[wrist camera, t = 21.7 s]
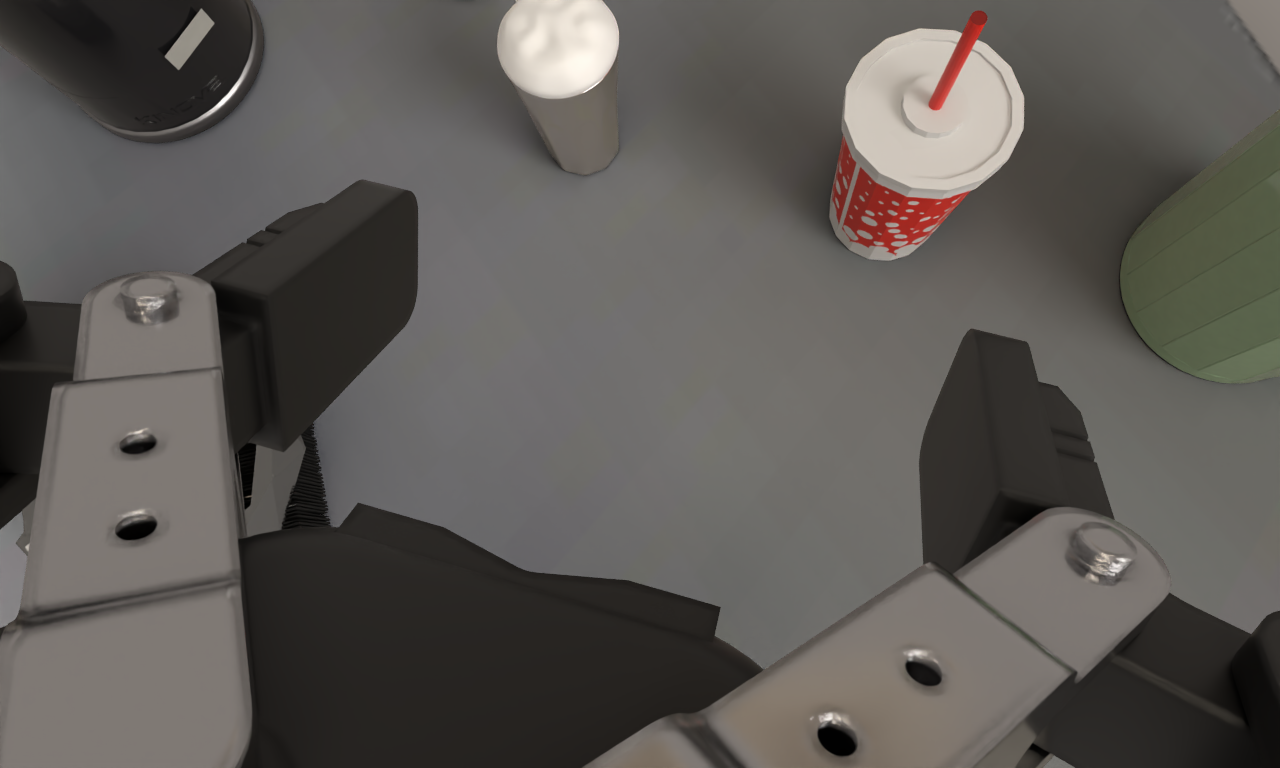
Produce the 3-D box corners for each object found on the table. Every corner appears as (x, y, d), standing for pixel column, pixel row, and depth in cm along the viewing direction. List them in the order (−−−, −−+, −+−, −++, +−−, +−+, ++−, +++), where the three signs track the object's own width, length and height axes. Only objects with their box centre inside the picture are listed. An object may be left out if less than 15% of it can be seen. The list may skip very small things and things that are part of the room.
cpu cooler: (252, 297, 34) (293, 557, 32) (315, 336, 40) (354, 559, 37) (-7, 364, 34) (17, 628, 32) (92, 394, 40) (118, 620, 37)
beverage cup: (979, 236, 39) (1132, 52, 25) (856, 302, 38) (943, 151, 25) (905, 124, 40) (1012, -109, 26) (785, 187, 40) (831, -16, 26)
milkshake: (583, 68, 42) (547, -87, 32) (654, 149, 40) (639, 13, 31) (506, 126, 41) (446, -14, 31) (575, 208, 40) (535, 90, 30)
